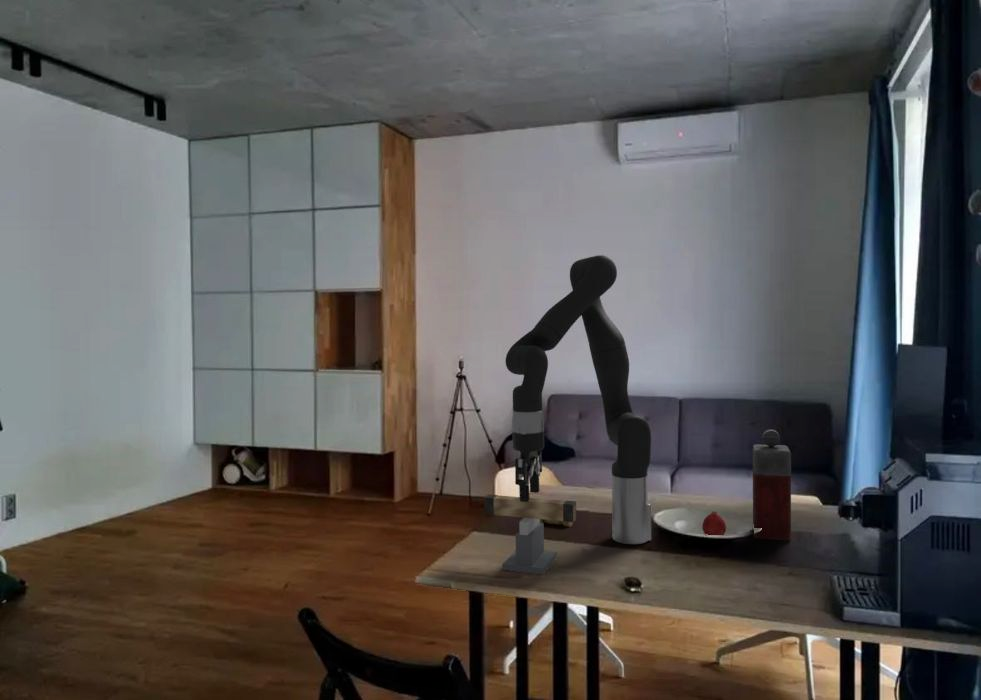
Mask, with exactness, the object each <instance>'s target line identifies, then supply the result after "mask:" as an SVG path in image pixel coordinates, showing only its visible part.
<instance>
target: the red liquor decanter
mask: <svg viewBox="0 0 981 700" xmlns="http://www.w3.org/2000/svg"><path fill="white" fill-rule="evenodd" d="M762 441H763V443H764V444H757V443H756V444H753V446H752V525H753V524H754V528H762V530H761V531H760V532H758V533H756V534H755V535H754V534H753V537H754V539H763V540H775V541H788V542H789V541H790V542H791V541H792V460H791V459H792V453H791V451H790V449H789V447H788V446H787V445H785V444H784V445H783V444H779V443H780V442H781V437H780V434H779V432H777V430H775V429H767V430H765V431H764V432H763V434H762Z"/></svg>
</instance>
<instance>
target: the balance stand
mask: <svg viewBox="0 0 981 700" xmlns="http://www.w3.org/2000/svg"><path fill="white" fill-rule="evenodd" d="M518 523H519V526H518V527H519V530H518V531H517V532H515V550H514V552H512V554H510V555H509V557H508V558H507V559H506V560H505V561H503V563H502V571H506V570H510V571H509V572H515V571H516V573H525V574H534V575H543V576H544V575H545V574H546V573H547V571H548V570H549V569H550V567H551V566H552V565H553V563H554V562H555V560H557V558H558V551H555V550H546V549H545V534H544V533H545V532H544V531H545V527H544V526H545V525H544V524H545V523H540V519H535V518H524V517H522V519H521V520H519V522H518Z"/></svg>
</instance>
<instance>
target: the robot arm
mask: <svg viewBox="0 0 981 700" xmlns="http://www.w3.org/2000/svg"><path fill="white" fill-rule="evenodd" d="M617 272H618V271H617V265H616V264H615V262H614V260H613V259H612V258H610V257H609V256H608V255H603V254H602V255H600V254H599V255H593V256H588V257H584V258H581V259H578V260H576V261H574V262H573V263H572V265H571V267H570V271H569V280H570V281H569V282H570V284H571V288H572V290H571V291H570V292H568V294H566V296H565V297H563V298H562V299H560V300H559V301H557V302H556V303H555V304H553V305H552V307H550V308H549V309H548V310H547V311H546V312H545V314H543V316H542V317H541V318H540V320H539V321H537V323H536V324H535V326H534V327H533V328H532V329H531V330H529V331H528V332H527V333H525V335H522V337H521V338H519V339H518V340H517V341H515V343H514V344H512V346H511V347H510V348H509V349H508V351H507V353H506V356H505V366H506V369H507V370H508V371H509V372H510V373H511V374H513V375H518V376H523V378H522V379H523V380H522V383H521V384H519V385H517V386H515V387H514V388H513V390H512V416H511V418H512V419H511V420H512V421H511V423H512V424H511V425H512V426H511V428H512V431H511V432H512V449H513V450H514V451H517V452H518V451H519V453H520V454H519V458H515V461H514V464H515V465H514V467H515V470H514V471H515V473H514V474H515V476H514V477H515V478H514V479H515V481H514V482H515V485H517V486H518V490H519V491H518V493H519V497H520V501H521V502H528V501H529V498H530V493H534V494H538V493H539V492H540V477H541V473H542V472H543V457H542V455H543V454H542V450H544V449H545V424H544V423H545V422H544V421H545V420H544V419H545V418H544V414H543V390H544V387H545V382H546V378H547V373H548V368H549V361H548V356H547V353H546V352H548V351H551V350H553V349H554V348H555V347H556V346H557V345H558V344H559V343H560V342H561V341H562V339H563V338H564V337H565V336H566V334H567V333H568V331H570V329H571V328H572V326H573V325H574V324H575V323H576V322H577V320H578V319H579V318H580V317H581V318H582V322H583V326H584V330H585V334H586V338H587V340H588V341H587V342H588V345H589V346H588V347H589V351H590V356H591V360H592V361H591V362H592V364H593V367H594V372H595V375H596V379H597V383H598V384H597V385H598V387H599V391H600V395H601V400H602V404H603V412H604V421H605V428H606V433H607V436H608V439H609V440H610V441H611V442H612V443H613V444H615V445H616V446H617V455H616V457H617V458H616V460H615V461H614V462H612V464H611V505H612V508H611V509H612V510H611V514H612V515H611V517H612V523H611V524H612V531H611V533H612V534H611V535H612V540H613V541H615V542H617V543H620V544H625V545H641V544H644V543H647V542H648V541H649V542H650V541H652V505H651V504H650V503H649V502H648V501H649V500H648V498H649V496H648V493H649V492H648V468H649V466H650V464H651V456H652V455H651V454H652V453H651V452H652V447H651V446H652V434H651V427H650V424H649V423H648V422H647V421H648V420H646V419H645V418H644V417H642V416H639V415H636V414H635V413H634V411H633V408H632V406H631V405H632V404H631V402H630V398H629V391H628V383H629V375H630V359H629V354H628V350H627V346H626V342H625V338H624V337H623V334H622V333H621V331H620V330H619V328H618V327H617V325H616V324H615V323H614V322H613V321H612V320H611V319H610V317H609V315H608V314H607V313H606V310H605V308H604V307H603V303H602V299H601V297H602V296H604V294H605V293H606V292H607V291H608V290H609V289H611V288H612V286H613V285H614V284H615V282H616V281H617V277H618V273H617Z"/></svg>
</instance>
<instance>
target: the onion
mask: <svg viewBox="0 0 981 700" xmlns="http://www.w3.org/2000/svg"><path fill="white" fill-rule="evenodd" d="M702 531H703V533H704V534H705V535H706V534H708V535H723V536H724V535H725V533H726V531H727V525H726V521H725V520H724V519H723V518H722V517H721V516H720V515H719V514H718V512H717V510H713V511H712V512H711V513H710V514H708V515H707V516H706V517H705V518H704V519H703V522H702Z"/></svg>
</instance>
